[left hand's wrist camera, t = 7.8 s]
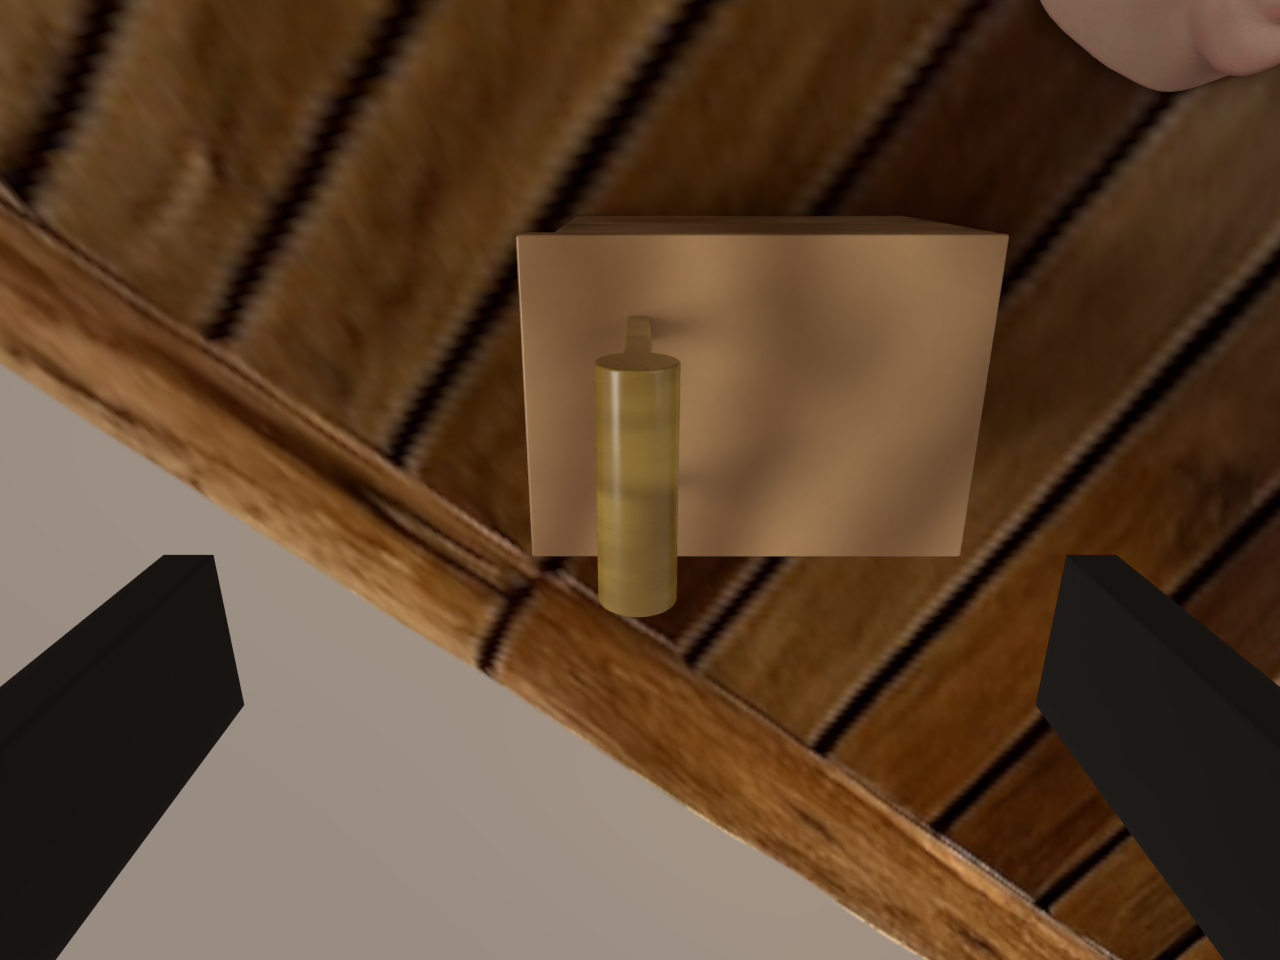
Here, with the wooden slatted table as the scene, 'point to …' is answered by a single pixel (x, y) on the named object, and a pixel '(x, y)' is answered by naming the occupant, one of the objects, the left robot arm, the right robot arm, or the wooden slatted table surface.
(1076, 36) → the anatomical model
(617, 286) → the lid
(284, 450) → the wooden slatted table surface
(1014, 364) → the wooden slatted table surface
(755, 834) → the wooden slatted table surface
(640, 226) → the chest
